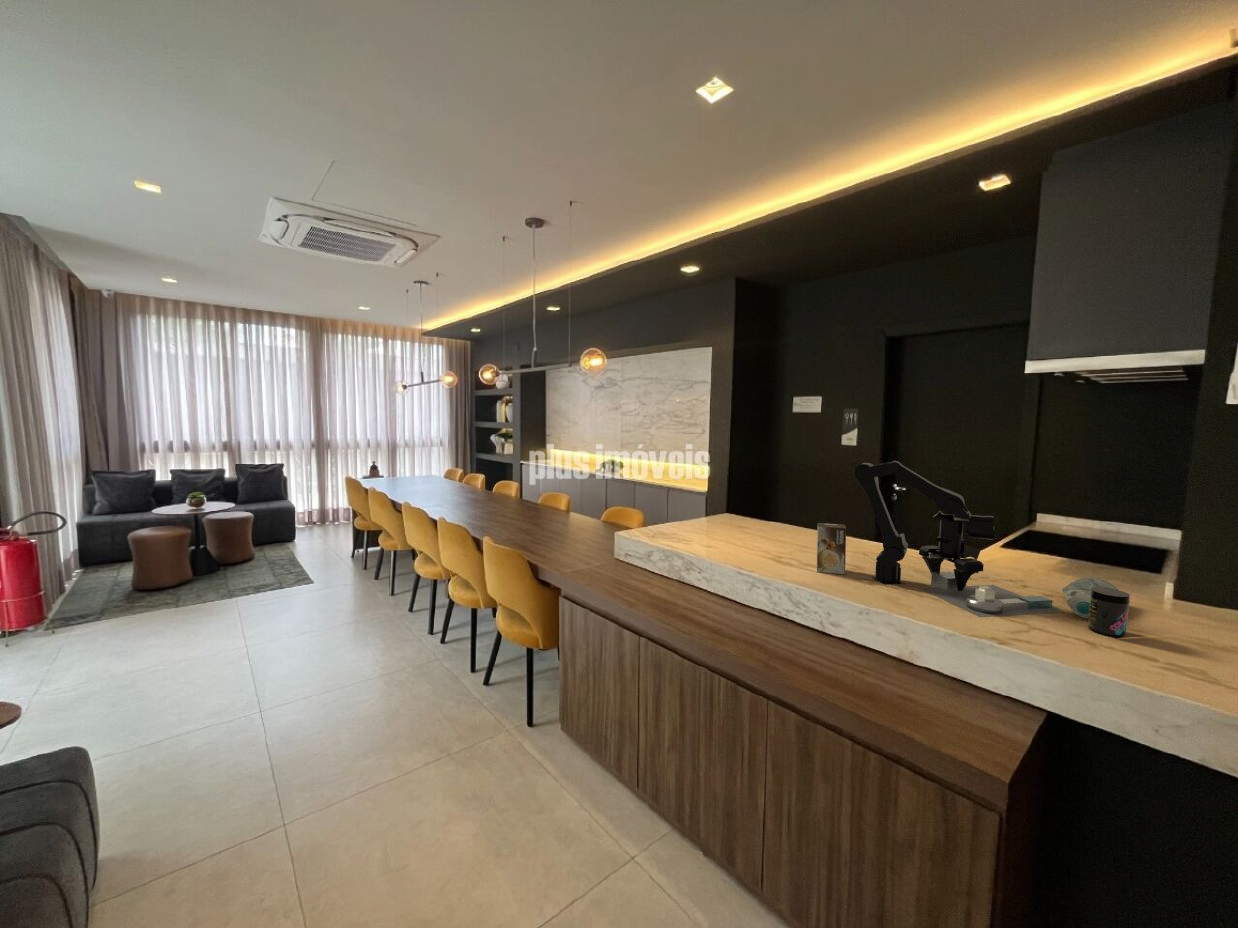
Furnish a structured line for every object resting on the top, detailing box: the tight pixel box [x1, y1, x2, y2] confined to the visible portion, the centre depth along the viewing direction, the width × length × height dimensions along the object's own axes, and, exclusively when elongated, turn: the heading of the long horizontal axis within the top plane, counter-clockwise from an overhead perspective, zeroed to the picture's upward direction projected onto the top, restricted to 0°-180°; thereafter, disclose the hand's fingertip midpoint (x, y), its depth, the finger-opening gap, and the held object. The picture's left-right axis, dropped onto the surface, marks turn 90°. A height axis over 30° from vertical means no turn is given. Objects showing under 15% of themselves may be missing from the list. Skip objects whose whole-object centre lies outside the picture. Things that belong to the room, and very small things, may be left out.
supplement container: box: [1087, 587, 1131, 639], centre depth 119 cm, size 7×7×10 cm
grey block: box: [930, 570, 967, 595], centre depth 148 cm, size 6×6×5 cm
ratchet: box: [966, 585, 1054, 614], centre depth 135 cm, size 23×8×6 cm, turn 97°
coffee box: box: [816, 522, 847, 575], centre depth 169 cm, size 9×6×16 cm
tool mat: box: [919, 584, 1064, 618], centre depth 141 cm, size 25×22×1 cm
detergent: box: [1061, 576, 1119, 620], centre depth 134 cm, size 13×7×25 cm
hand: (947, 585), depth 148 cm, fingers open, 9 cm apart
